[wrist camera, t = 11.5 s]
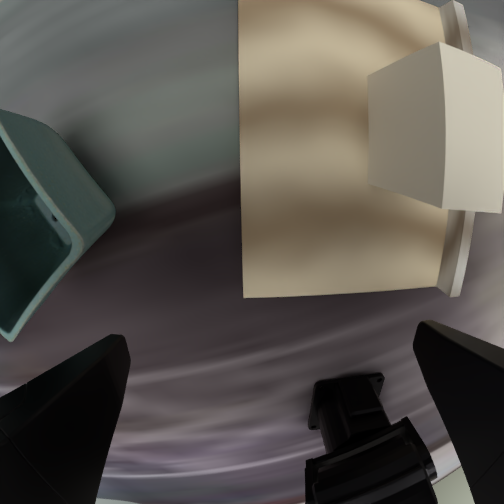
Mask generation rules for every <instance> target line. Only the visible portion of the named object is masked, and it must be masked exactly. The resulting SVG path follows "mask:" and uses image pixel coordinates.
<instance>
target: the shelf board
mask: <svg viewBox="0 0 504 504" xmlns="http://www.w3.org/2000/svg"><path fill="white" fill-rule="evenodd" d="M238 35H239V121H240V177H241V223H242V262H243V298H260V297H288V296H310V295H329V294H345V293H361V292H375V291H388V290H400V289H411V288H422V287H433V286H437V287H438V288H439V289H440V290H442V291H443V292H444V293H445V294H446V295H448V296H449V297H456V296H459V295H460V291H461V287H462V283H463V278H464V274H465V269H466V264H467V259H468V254H469V249H470V243H471V237H472V231H473V224H474V216H475V211H466V210H451V209H441V208H438V207H435V206H433V205H430V204H427V203H424V202H421V201H419V200H416V199H413V198H410V197H407V196H404V195H401V194H398V193H395V192H392V191H389V190H386V189H383V188H380V187H377V186H373V185H370V184H367V183H368V150H369V115H368V84H367V76H368V75H370V74H372V73H374V72H376V71H378V70H380V69H382V68H384V67H386V66H388V65H390V64H392V63H394V62H396V61H398V60H400V59H402V58H404V57H406V56H408V55H410V54H412V53H414V52H417V51H419V50H421V49H423V48H425V47H428V46H430V45H432V44H434V43H437V42H442V43H444V44H447V45H450V46H452V47H455V48H457V49H460V50H462V51H465V52H467V53H469V54H472V55H473V51H472V45H471V39H470V34H469V29H468V25H467V20H466V16H465V12H464V8H463V5H462V4H460V3H458V2H456V1H454V0H452V1H450V2H448V3H446V4H445V5H443V6H441V7H439V8H438V7H435V6H433V5H430V4H427V3H425V2H422V1H419V0H238Z"/></svg>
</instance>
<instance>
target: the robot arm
mask: <svg viewBox="0 0 504 504" xmlns="http://www.w3.org/2000/svg"><path fill="white" fill-rule="evenodd" d="M413 350H414V353H415V356H416V358H417V361H418V364H419V366H420V369H421V372H422V374H423V377H424V380H425V382H426V385H427V387H428V390H429V392H430V394H431V396H432V398H433V400H434V402H435V405H436V407H437V409H438V411H439V413H440V415H441V418H442V420H443V422H444V424H445V427H446V429H447V431H448V434H449V436H450V438H451V441H452V443H453V446H454V448H455V450H456V453H457V455H458V458H459V460H460V463H461V466H462V468H463V471H464V473H465V476H466V479H467V482H468V484H469V487H470V490H471V493H472V496H473V499H474V502H475V504H504V349H503V348H501V347H498V346H496V345H493V344H491V343H488V342H486V341H483V340H481V339H478V338H476V337H473V336H471V335H468V334H466V333H463V332H460V331H458V330H455V329H453V328H450V327H448V326H445V325H443V324H440V323H438V322H435V321H433V320H426V321H421V322H420V323H419V324H418V327H417V330H416V334H415V338H414V341H413ZM130 364H131V359H130V354H129V351H128V347H127V343H126V340H125V337H124V336H123V335H117V334H110V335H108V336H107V337H105V338H103V339H101V340H100V341H98V342H96V343H94V344H93V345H91V346H89V347H88V348H86V349H84V350H82V351H81V352H79V353H77V354H76V355H74V356H72V357H70V358H69V359H67V360H65V361H63V362H62V363H60V364H58V365H57V366H55V367H53V368H51V369H50V370H48V371H46V372H44V373H43V374H41V375H39V376H38V377H36V378H34V379H32V380H31V381H29V382H27V384H24V385H22V386H20V387H19V388H17V389H15V390H13V391H11V392H10V393H8V394H6V395H4V396H2V397H0V504H95V502H96V497H97V493H98V489H99V485H100V481H101V477H102V473H103V470H104V466H105V462H106V459H107V455H108V451H109V448H110V444H111V441H112V437H113V434H114V431H115V427H116V424H117V421H118V418H119V414H120V411H121V408H122V404H123V399H124V394H125V389H126V384H127V379H128V374H129V369H130ZM384 379H385V377H384V376H383V374H382V373H378V374H372V375H365V376H359V377H352V378H344V379H336V380H327V381H320V382H317V383H316V384H315V386H314V392H313V398H312V404H311V410H310V416H309V422H308V427H309V429H310V430H317V429H320V430H321V434H322V438H323V442H324V445H325V449H326V453H327V454H325V455H322V456H320V457H317V458H314V459H313V458H311V459H308V460H306V468H305V499H306V502H305V504H438V502H437V498H436V495H435V492H434V490H433V487H432V484H431V481H432V480H434V479H436V478H437V472H436V469H435V466H434V463H433V460H432V458H431V456H430V453H429V451H428V449H427V447H426V446H425V444H424V442H423V441H422V439H421V437H420V436H419V434H418V433H417V431H416V430H415V428H414V426H413V425H412V423H411V422H410V420H409V419H408V417H407V416H406V417H404V418H402V419H401V421H399V422H397V423H395V424H393V425H391V424H390V422H389V419H388V417H387V415H386V413H385V411H384V409H383V405H382V403H381V401H380V399H379V395H380V392H381V389H382V386H383V382H384ZM321 386H322V387H321Z"/></svg>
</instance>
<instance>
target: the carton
mask: <svg viewBox="0 0 504 504" xmlns="http://www.w3.org/2000/svg"><path fill="white" fill-rule="evenodd" d="M367 84H368V115H369V150H368V183H367V184H370V185H373V186H377V187H380V188H383V189H386V190H389V191H392V192H395V193H398V194H401V195H404V196H407V197H410V198H413V199H416V200H419V201H421V202H424V203H427V204H430V205H433V206H435V207H438V208H441V209H451V210H466V211H479V212H491V213H501V210H502V201H503V191H504V91H503V82H502V73H501V68H499V67H497V66H495V65H493V64H491V63H489V62H487V61H485V60H483V59H481V58H478V57H476V56H474V55H472V54H469V53H467V52H465V51H462V50H460V49H457V48H455V47H452V46H450V45H447V44H444V43H442V42H437V43H434V44H432V45H430V46H428V47H425V48H423V49H421V50H419V51H417V52H414V53H412V54H410V55H408V56H406V57H404V58H402V59H400V60H398V61H396V62H394V63H392V64H390V65H388V66H386V67H384V68H382V69H380V70H378V71H376V72H374V73H372V74H370V75H368V76H367Z"/></svg>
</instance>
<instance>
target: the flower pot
mask: <svg viewBox="0 0 504 504" xmlns="http://www.w3.org/2000/svg"><path fill="white" fill-rule="evenodd" d="M115 215H116V210H115V207H114V204H113V203H112V202H111V200H110V199H109V198H108V196H107V195H106V194H105V193H104V192H103V190H102V189H101V188H100V187H99V186H98V184H97V183H96V182H95V181H94V179H93V178H92V177H91V176H90V174H89V173H88V172H87V171H86V169H85V168H84V167H83V165H82V164H81V163H80V161H79V160H78V159H77V157H76V156H75V155H74V153H73V152H72V151H71V149H70V148H69V147H68V145H67V144H66V143H65V142H64V140H63V139H62V138H61V137H60V136H59V135H58V134H57V133H56V132H55V131H54V130H53V129H51V128H50V127H49V126H47V125H46V124H44V123H42V122H39V121H37V120H34V119H31V118H29V117H26V116H22V115H19V114H16V113H12V112H9V111H5V110H2V109H0V333H1V334H2V335H3V336H4V337H5V338H6V339H7V340H8V341H10V342H12V341H14V339H15V338H16V337H17V335H18V334H19V333H20V331H21V330H22V329H23V327H24V326H25V325H26V324H27V322H28V321H29V320H30V318H31V317H32V316H33V315H34V314H35V312H36V311H37V310H38V309H39V307H40V306H41V305H42V304H43V303H44V301H45V300H46V299H47V298H48V296H49V295H50V294H51V292H52V291H53V290H54V288H55V287H56V286H57V285H58V283H59V282H60V281H61V280H62V278H63V277H64V276H65V275H66V273H67V272H68V271H69V270H70V269H71V268H72V267H73V265H74V264H75V263H76V262H77V261H78V260H79V259H80V257H81V256H82V255H83V254H84V253H85V252H86V251H87V250H88V249H89V248H90V247H91V246H92V244H93V243H94V242H95V241H96V240H97V239H98V238H99V237H100V236H101V235H102V234H103V233H104V232H105V231H106V230H107V229H108V228H109V227H110V226H111V224H112V223H113V221H114V218H115ZM54 216H55V217H56V219H57V220H55V218H54Z"/></svg>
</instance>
